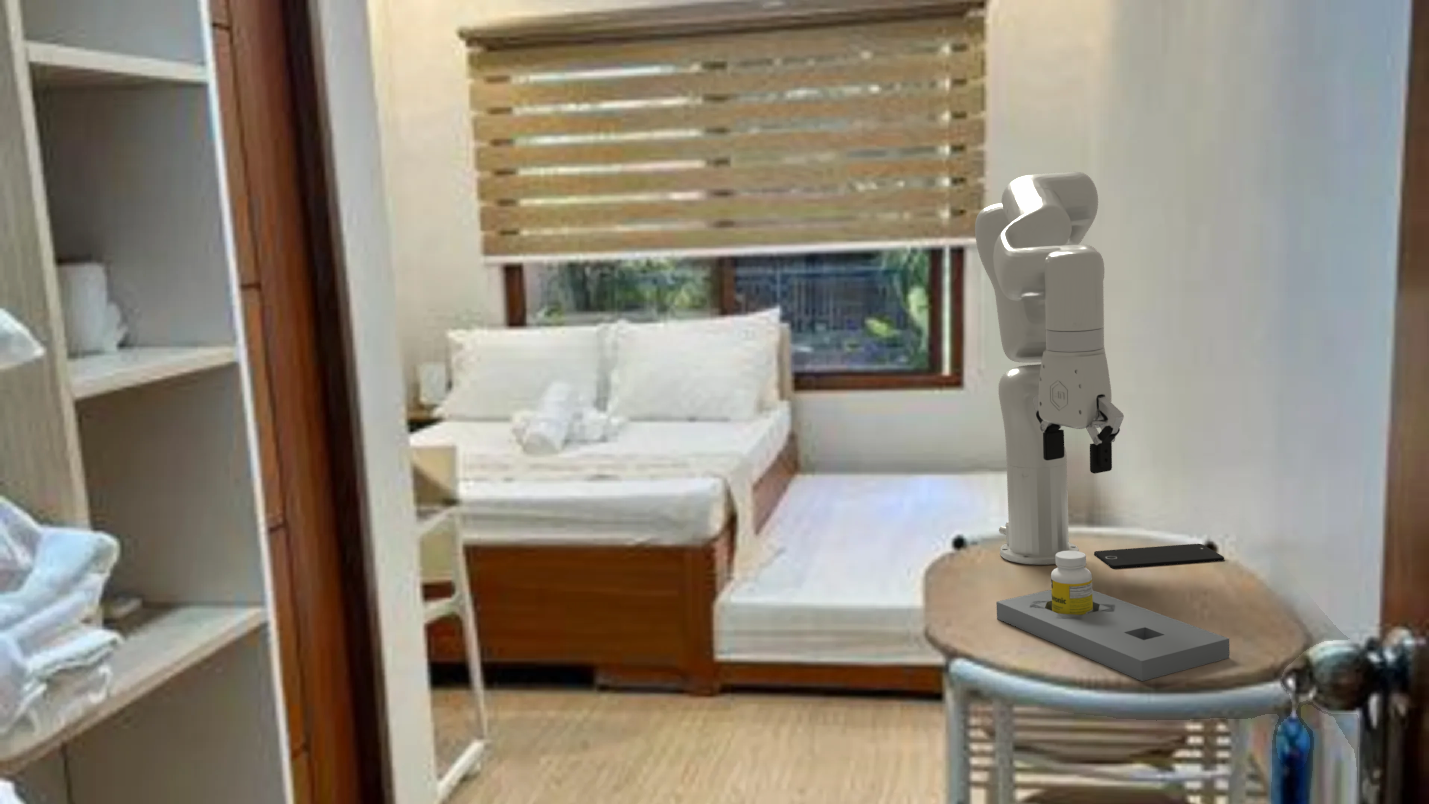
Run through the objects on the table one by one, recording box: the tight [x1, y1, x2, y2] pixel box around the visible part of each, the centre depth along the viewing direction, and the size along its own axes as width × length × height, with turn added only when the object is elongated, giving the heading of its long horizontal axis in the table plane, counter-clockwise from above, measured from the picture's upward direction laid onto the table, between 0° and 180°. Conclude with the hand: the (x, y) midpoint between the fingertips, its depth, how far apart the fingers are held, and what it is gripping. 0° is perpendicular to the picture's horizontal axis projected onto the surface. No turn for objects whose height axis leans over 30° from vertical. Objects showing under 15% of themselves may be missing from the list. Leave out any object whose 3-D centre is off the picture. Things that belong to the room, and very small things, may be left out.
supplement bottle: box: [1050, 550, 1093, 615], centre depth 164 cm, size 5×5×10 cm
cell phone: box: [1093, 543, 1225, 570], centre depth 193 cm, size 9×18×1 cm, turn 92°
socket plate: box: [996, 589, 1230, 682], centre depth 158 cm, size 28×14×2 cm, turn 24°
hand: (1076, 465), depth 165 cm, fingers open, 9 cm apart
